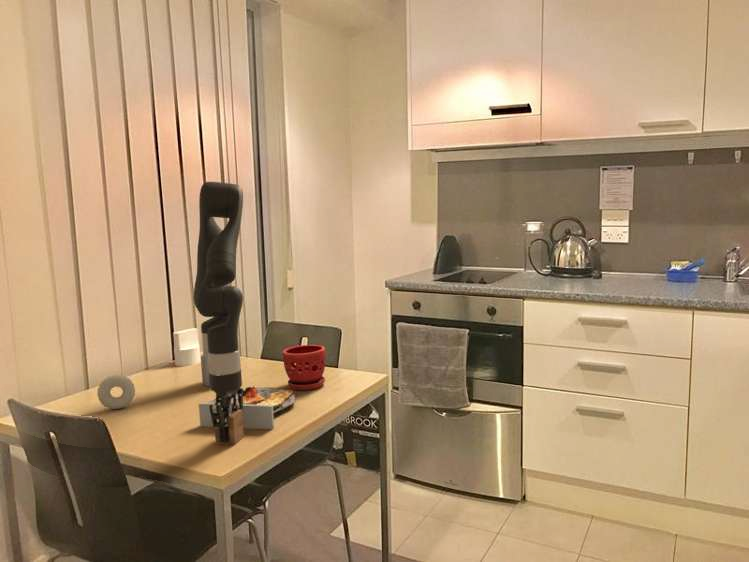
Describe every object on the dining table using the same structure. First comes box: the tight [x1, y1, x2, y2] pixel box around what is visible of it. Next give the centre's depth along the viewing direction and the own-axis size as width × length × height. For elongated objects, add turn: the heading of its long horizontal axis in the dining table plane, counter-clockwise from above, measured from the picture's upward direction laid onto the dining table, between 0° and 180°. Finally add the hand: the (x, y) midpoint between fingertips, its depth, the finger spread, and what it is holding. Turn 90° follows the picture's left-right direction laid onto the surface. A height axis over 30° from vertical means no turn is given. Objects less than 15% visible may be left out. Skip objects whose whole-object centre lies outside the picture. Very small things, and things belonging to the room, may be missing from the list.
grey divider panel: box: [198, 402, 275, 430], centre depth 154 cm, size 20×1×6 cm, turn 78°
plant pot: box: [282, 344, 326, 391], centre depth 187 cm, size 13×13×12 cm
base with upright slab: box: [172, 327, 201, 367], centre depth 220 cm, size 9×9×12 cm
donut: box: [97, 374, 136, 410], centre depth 171 cm, size 10×4×10 cm, turn 110°
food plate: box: [207, 385, 297, 414], centre depth 169 cm, size 25×23×4 cm
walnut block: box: [214, 409, 245, 446], centre depth 145 cm, size 5×5×7 cm
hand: (229, 436), depth 146 cm, fingers closed on walnut block, 5 cm apart
